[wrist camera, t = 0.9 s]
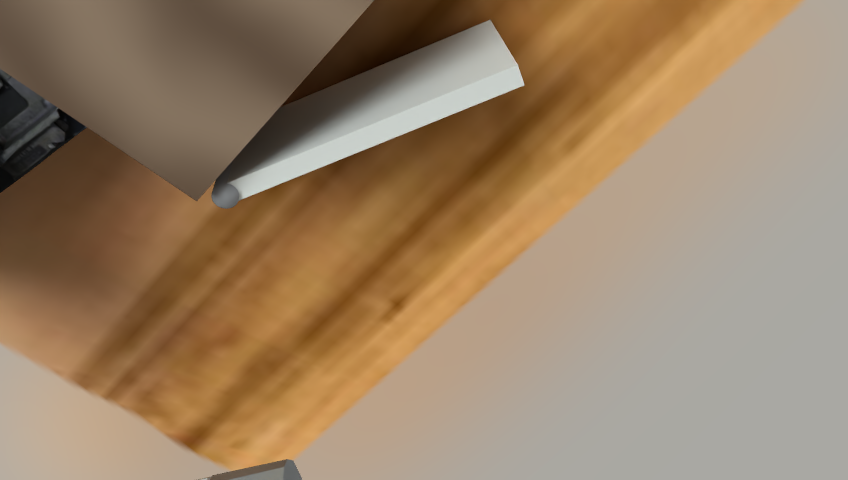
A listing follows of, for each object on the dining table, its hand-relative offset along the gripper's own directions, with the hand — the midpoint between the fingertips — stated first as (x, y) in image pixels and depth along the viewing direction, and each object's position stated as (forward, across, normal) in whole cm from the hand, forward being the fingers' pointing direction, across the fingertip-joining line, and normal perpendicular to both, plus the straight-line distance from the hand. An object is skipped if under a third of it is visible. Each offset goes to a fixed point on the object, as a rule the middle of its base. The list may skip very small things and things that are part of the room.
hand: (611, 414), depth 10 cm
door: (+32, +4, +6) cm, 32 cm away
